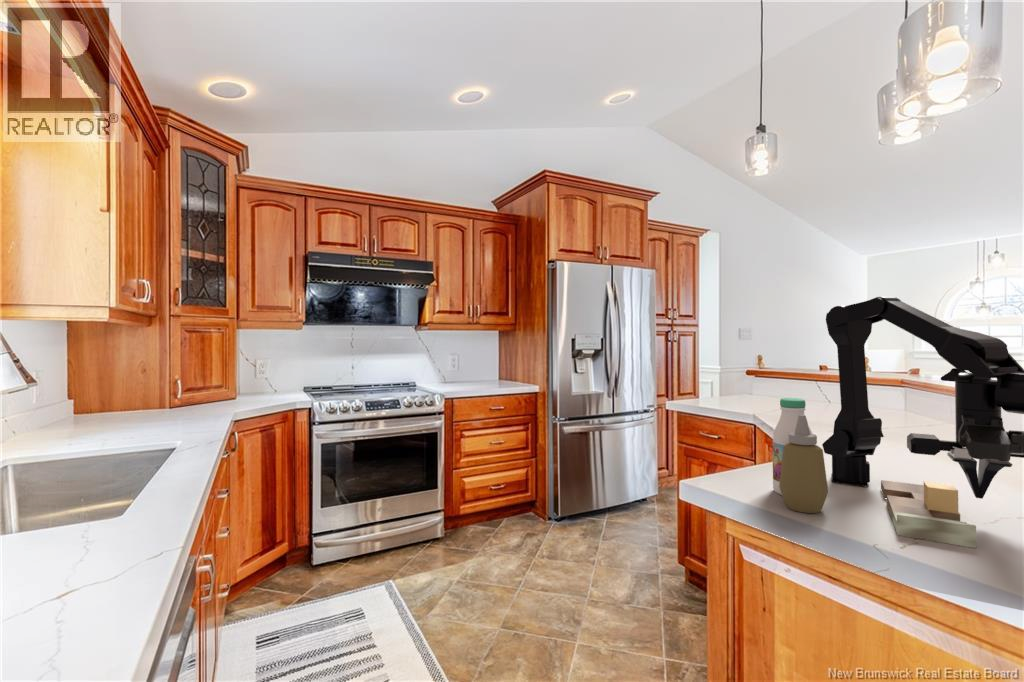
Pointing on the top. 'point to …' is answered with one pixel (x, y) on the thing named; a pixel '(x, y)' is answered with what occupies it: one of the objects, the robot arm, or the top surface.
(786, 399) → the milk bottle
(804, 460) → the squeeze bottle
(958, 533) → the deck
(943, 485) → the block
